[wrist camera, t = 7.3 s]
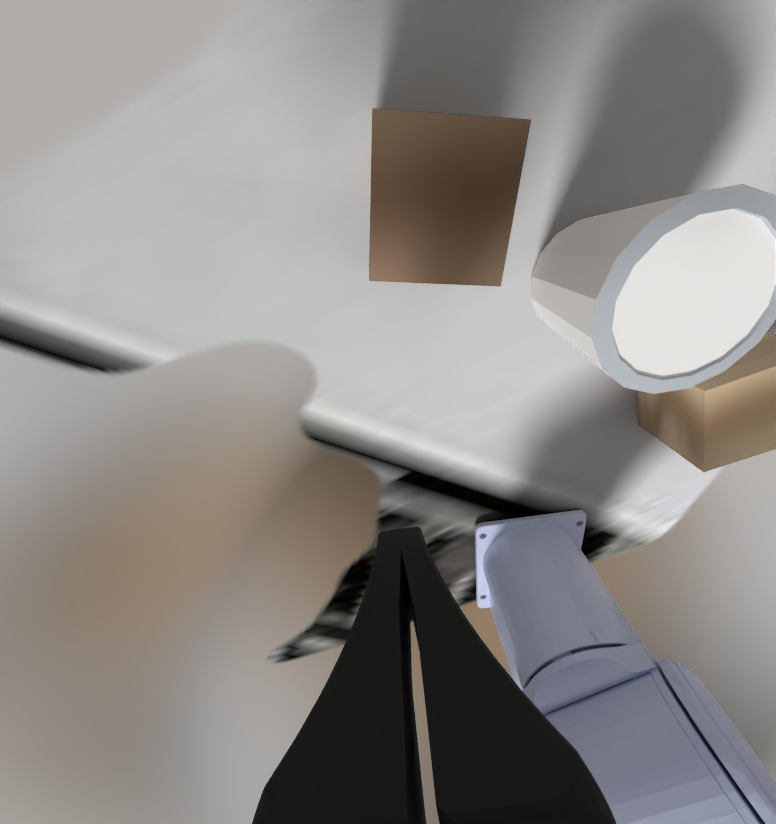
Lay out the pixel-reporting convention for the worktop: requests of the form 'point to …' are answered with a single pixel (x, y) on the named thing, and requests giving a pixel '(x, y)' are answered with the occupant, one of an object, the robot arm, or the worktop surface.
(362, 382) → the worktop surface
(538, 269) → the white cup
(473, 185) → the walnut block
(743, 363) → the oak block
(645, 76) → the worktop surface
